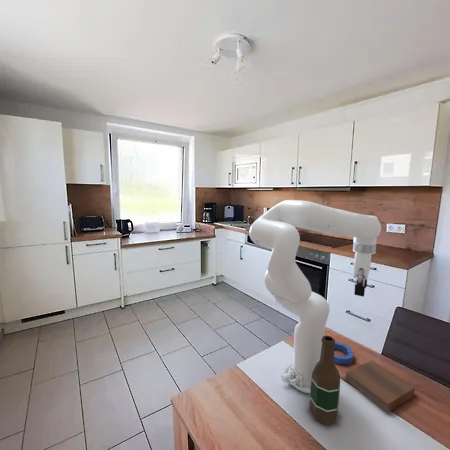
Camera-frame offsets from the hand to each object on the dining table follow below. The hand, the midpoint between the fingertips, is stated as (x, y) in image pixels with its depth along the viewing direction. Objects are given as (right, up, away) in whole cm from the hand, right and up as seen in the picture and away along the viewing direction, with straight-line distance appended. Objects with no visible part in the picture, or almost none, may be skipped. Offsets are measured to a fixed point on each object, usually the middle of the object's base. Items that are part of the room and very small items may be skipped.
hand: (360, 291), depth 94 cm
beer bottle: (-24, -30, -23) cm, 45 cm away
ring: (-8, -26, +2) cm, 27 cm away
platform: (-2, -29, -14) cm, 32 cm away
